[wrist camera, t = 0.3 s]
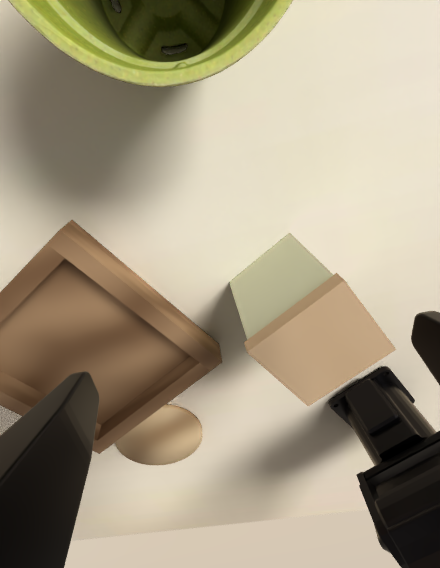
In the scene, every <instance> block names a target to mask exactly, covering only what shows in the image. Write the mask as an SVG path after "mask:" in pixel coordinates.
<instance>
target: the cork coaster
mask: <svg viewBox="0 0 440 568" xmlns="http://www.w3.org/2000/svg"><path fill="white" fill-rule="evenodd" d="M201 440H202V427H201V424H200V422H199V420H198V419H197V417H196V416H195V415H194V414H192V413H191V412H190V411H188V410H186V409H184V408H181V407H178V406H174V405H166V404H165V405H164V406H163V407H161V408H160V409H159V410H157V411H156V412H155V413H153V414H152V415H151V416H149V417H148V418H147V419H145V420H144V421H143V422H141V423H140V424H139V425H137V426H136V427H135V428H133V429H132V430H131V431H129V432H128V433H127V434H125V435H124V436H123V437H121V438H120V439H119V440H117V441H116V446H117V448H118V450H119V451H120V452H121V453H122V454H123V455H124V456H125V457H127V458H128V459H130V460H132V461H135V462H138V463H141V464H146V465H166V464H171V463H175V462H178V461H180V460H182V459H185V458H186V457H188V456H190V455H191V454H192V453H193V452H194V451H195V450H196V449H197V448H198V447H199V445H200V443H201Z"/></svg>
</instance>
